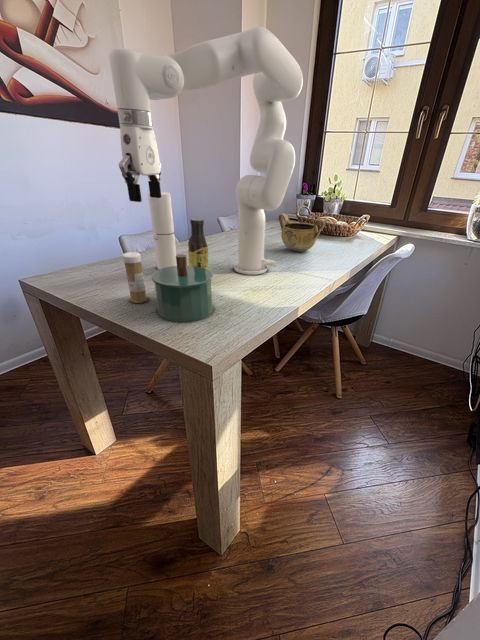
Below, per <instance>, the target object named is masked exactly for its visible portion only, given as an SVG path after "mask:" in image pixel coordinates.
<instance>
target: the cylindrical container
mask: <svg viewBox="0 0 480 640" xmlns="http://www.w3.org/2000/svg"><path fill="white" fill-rule="evenodd" d="M147 197H148V205H149V213H150V220H151V226H152V227H151V228H152V235H153V236H152V237H153V243H154V250H155V258H156V267H157V270H159V269H162V268H166V267H171V266H177V263H176V255H177V247H176V237H175V227H174V216H173V205H172V196H171V193H170V192H167V191H161V198H154V197H150V191H148V192H147Z"/></svg>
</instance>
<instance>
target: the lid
mask: <svg viewBox="0 0 480 640" xmlns="http://www.w3.org/2000/svg"><path fill="white" fill-rule="evenodd" d="M176 263H177V266H171V267H166V268H162V269H156V270H155V271H154V272H152V274H151V280H152V282H153V284H154V283H156V284H158V285H161V286H164V287H170V288H191V287H197V286H201V285H204V284H207V283H209V282H210V281H211V282H212V281H213V278H214V273H213V272H212V271H211V270H209V269H208V270H207V269H205V268H202V267H197V266H189V265H188V259H187V255H186V254H183V253H181V254H180V253H179V254H176Z"/></svg>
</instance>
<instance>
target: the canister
mask: <svg viewBox="0 0 480 640" xmlns="http://www.w3.org/2000/svg"><path fill="white" fill-rule="evenodd" d="M212 283H213V282H212V280H211V281H210V282H209V283H207V284H204V285H201V286H197V287H191V288H170V287H164V286H161V285H158V284H156V283H154V282H153V286H154V291H155V299H156V307H157V311H158V314H159V316H160V317H161V318H163V319H164V320H167V321H171V322H176V323H177V322H178V323H189V322H196V321H201V320H203V319H205V318H207V317H208V316H210V315H211V314H212V312H213V286H212Z"/></svg>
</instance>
